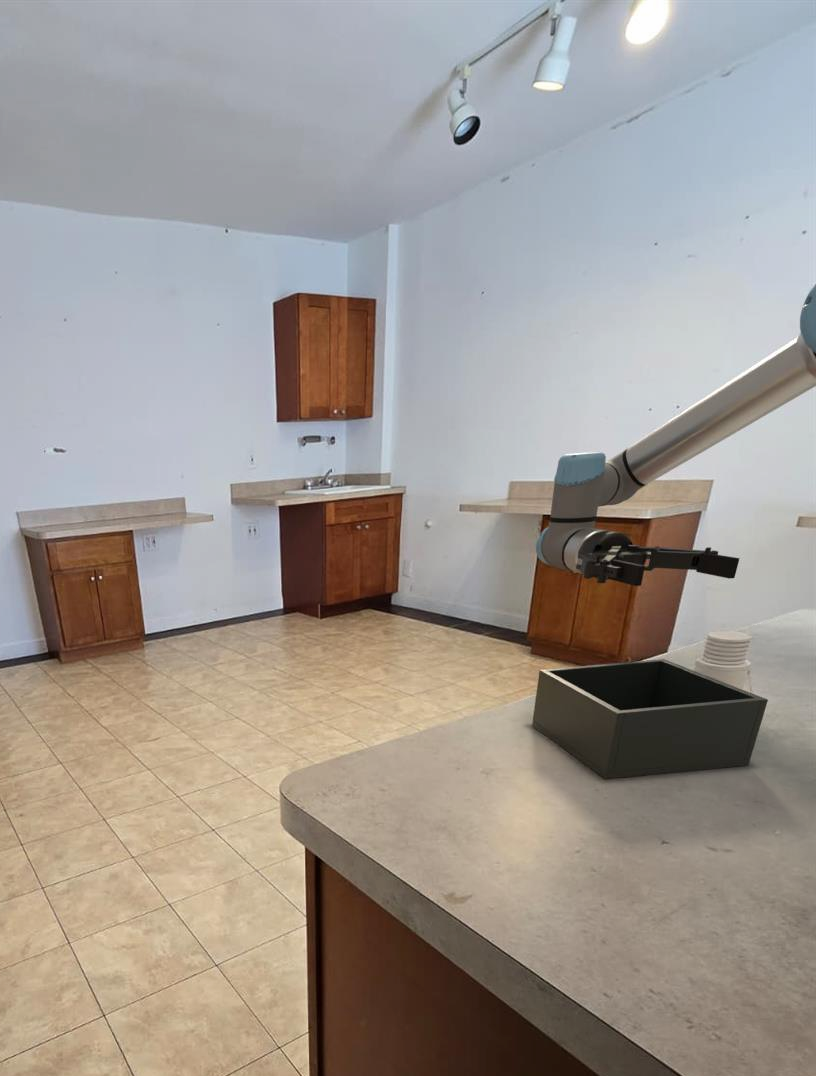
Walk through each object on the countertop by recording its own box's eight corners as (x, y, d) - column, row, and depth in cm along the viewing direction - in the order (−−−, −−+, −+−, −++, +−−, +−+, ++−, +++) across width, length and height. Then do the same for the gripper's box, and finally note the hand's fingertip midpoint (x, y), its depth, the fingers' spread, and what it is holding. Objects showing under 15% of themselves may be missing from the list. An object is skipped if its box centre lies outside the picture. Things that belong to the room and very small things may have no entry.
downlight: (681, 714, 86) (699, 641, 81) (671, 697, 91) (687, 628, 87) (754, 718, 83) (776, 643, 78) (738, 700, 88) (758, 629, 84)
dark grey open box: (651, 714, 86) (663, 658, 83) (748, 765, 71) (768, 699, 68) (531, 725, 86) (539, 669, 82) (604, 779, 71) (617, 713, 67)
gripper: (665, 571, 110) (765, 592, 91) (524, 582, 109) (596, 606, 90) (675, 525, 107) (781, 537, 88) (530, 536, 106) (605, 550, 87)
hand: (687, 572), depth 89 cm, fingers open, 13 cm apart
